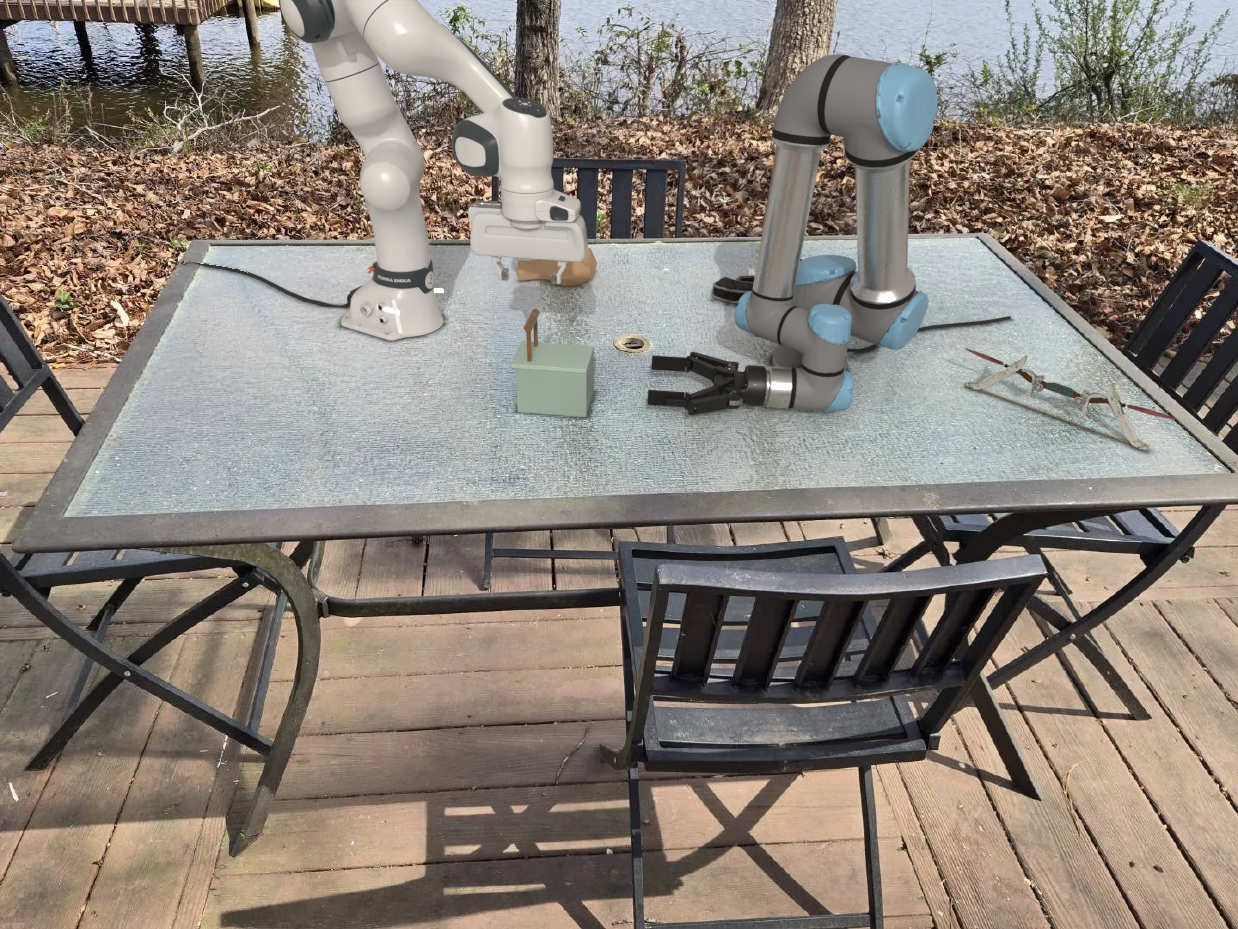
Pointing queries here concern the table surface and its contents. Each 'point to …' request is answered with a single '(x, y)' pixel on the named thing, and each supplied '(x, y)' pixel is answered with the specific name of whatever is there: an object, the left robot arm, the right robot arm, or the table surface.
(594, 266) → the squash
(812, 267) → the right robot arm
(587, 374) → the chest
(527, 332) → the lid
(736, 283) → the gun
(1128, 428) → the bow
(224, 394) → the table surface
